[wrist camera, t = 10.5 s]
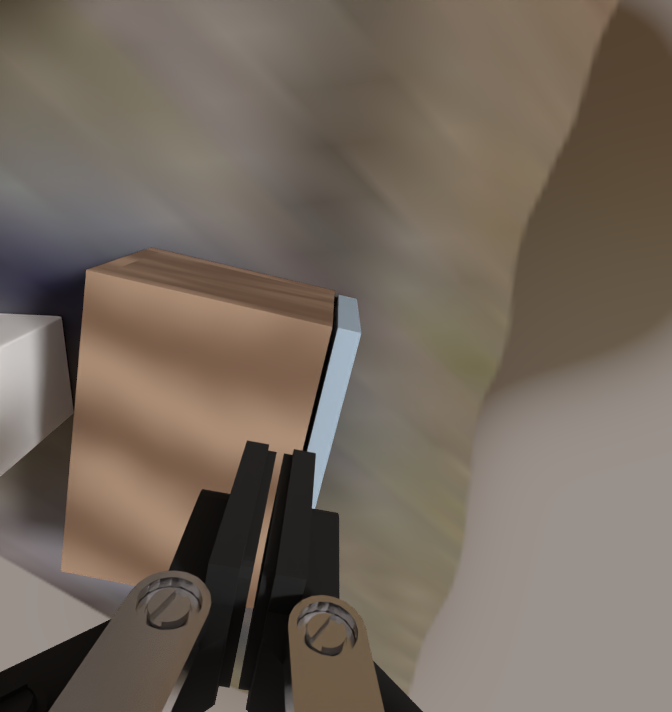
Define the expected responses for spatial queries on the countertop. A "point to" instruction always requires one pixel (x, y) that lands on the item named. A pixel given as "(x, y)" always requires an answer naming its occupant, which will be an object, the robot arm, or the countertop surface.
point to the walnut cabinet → (181, 400)
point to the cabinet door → (332, 385)
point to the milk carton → (31, 383)
